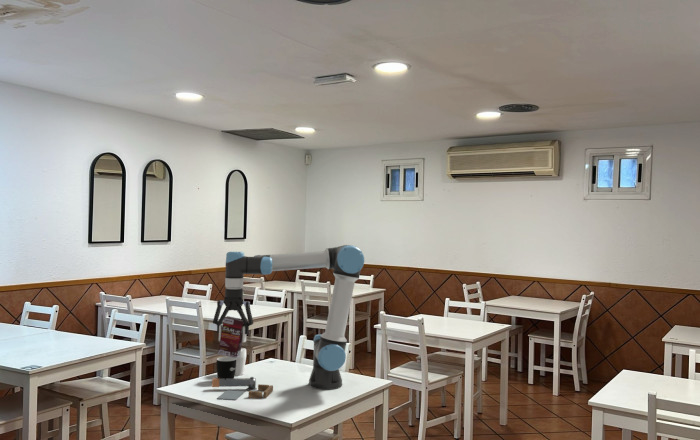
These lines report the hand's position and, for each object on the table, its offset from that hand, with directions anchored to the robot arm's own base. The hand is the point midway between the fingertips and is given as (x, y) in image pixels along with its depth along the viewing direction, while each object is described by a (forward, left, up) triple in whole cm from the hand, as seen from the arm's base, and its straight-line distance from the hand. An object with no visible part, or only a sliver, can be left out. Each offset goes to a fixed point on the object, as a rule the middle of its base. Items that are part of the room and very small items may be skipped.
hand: (232, 341), depth 239 cm
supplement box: (+1, 0, -6) cm, 6 cm away
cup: (+10, -36, -23) cm, 43 cm away
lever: (+2, -10, -22) cm, 24 cm away
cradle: (-9, -6, -23) cm, 25 cm away
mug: (+10, -24, -23) cm, 35 cm away
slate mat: (0, 0, -23) cm, 23 cm away
